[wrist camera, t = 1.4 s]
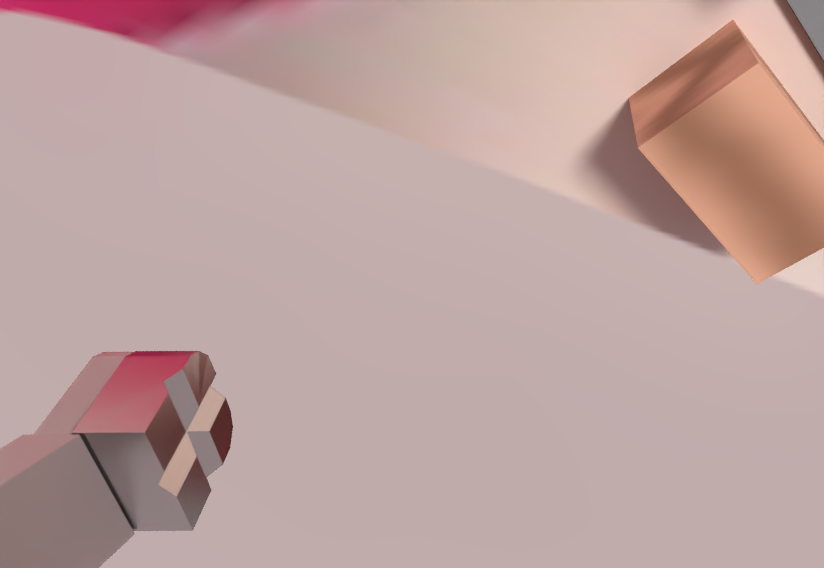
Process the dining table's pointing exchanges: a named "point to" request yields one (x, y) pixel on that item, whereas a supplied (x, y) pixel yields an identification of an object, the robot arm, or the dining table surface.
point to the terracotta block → (736, 152)
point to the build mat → (811, 20)
